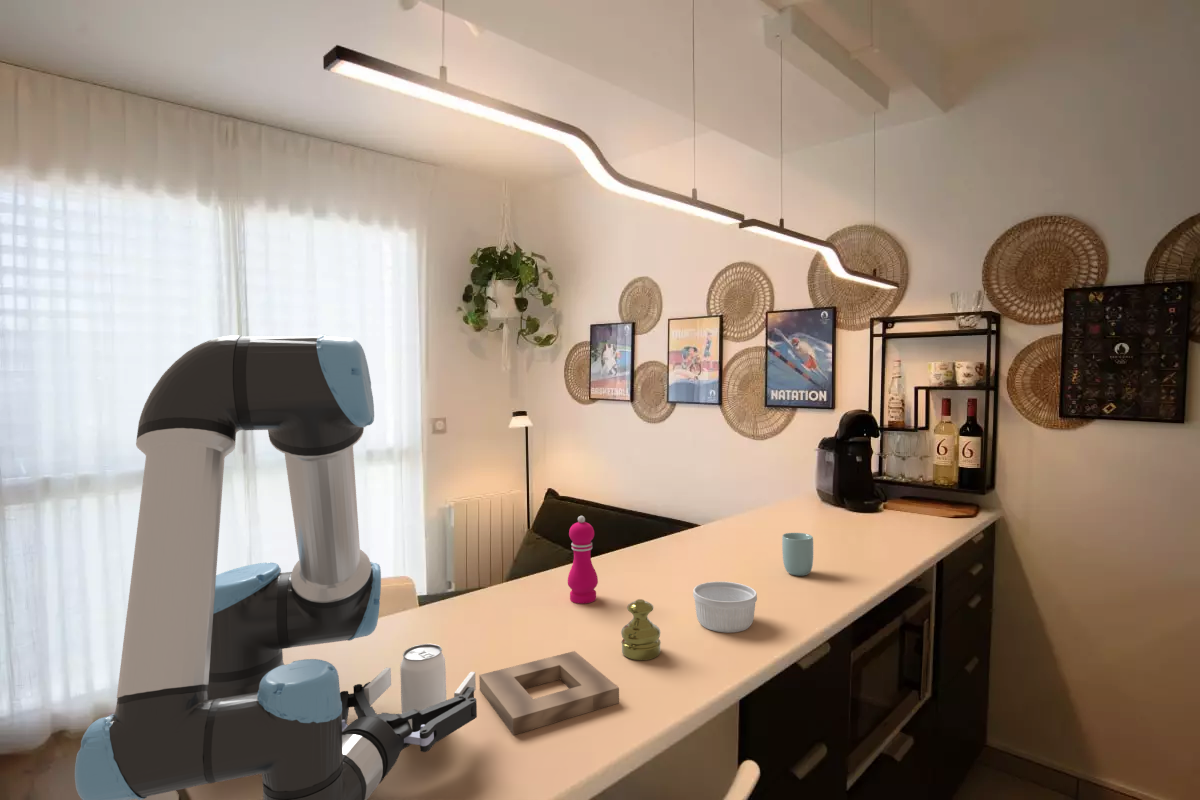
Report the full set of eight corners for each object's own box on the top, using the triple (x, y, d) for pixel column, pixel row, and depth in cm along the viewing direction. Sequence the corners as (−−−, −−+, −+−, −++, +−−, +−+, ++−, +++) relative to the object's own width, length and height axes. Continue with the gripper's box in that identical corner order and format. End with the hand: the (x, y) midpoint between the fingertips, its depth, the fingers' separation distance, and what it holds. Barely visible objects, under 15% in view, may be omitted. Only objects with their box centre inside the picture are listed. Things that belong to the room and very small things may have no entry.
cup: (809, 569, 168) (809, 532, 168) (816, 578, 160) (816, 539, 160) (780, 569, 169) (779, 532, 169) (785, 578, 161) (785, 539, 161)
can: (430, 714, 98) (428, 639, 98) (456, 728, 94) (453, 649, 94) (393, 733, 93) (391, 653, 93) (419, 748, 89) (416, 665, 89)
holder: (513, 735, 92) (513, 718, 92) (479, 689, 106) (479, 674, 106) (619, 702, 100) (618, 687, 100) (575, 664, 114) (574, 650, 114)
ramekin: (758, 614, 137) (757, 583, 137) (756, 638, 124) (755, 603, 124) (697, 609, 141) (697, 579, 140) (689, 632, 128) (689, 599, 128)
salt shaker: (615, 648, 121) (614, 597, 121) (650, 642, 124) (649, 592, 123) (631, 664, 114) (629, 610, 114) (667, 657, 117) (666, 604, 116)
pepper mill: (571, 606, 144) (569, 520, 144) (565, 596, 151) (563, 514, 151) (601, 602, 146) (600, 517, 146) (593, 592, 153) (592, 511, 153)
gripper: (262, 785, 76) (355, 698, 97) (456, 801, 73) (510, 707, 94) (259, 725, 76) (353, 650, 97) (455, 738, 72) (508, 657, 93)
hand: (430, 678), depth 95 cm, fingers open, 13 cm apart
